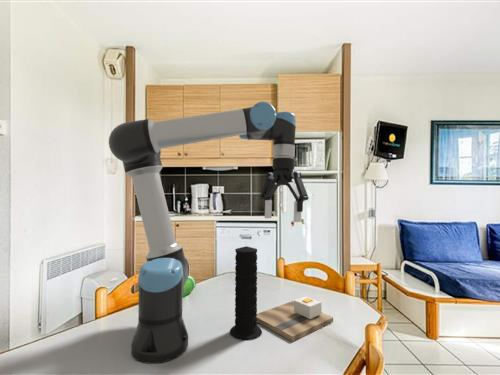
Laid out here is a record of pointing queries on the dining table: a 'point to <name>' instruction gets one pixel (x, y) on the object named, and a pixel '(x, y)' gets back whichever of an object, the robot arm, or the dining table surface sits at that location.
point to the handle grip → (246, 295)
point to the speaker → (188, 286)
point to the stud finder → (307, 307)
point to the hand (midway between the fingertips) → (281, 220)
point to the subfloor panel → (291, 321)
